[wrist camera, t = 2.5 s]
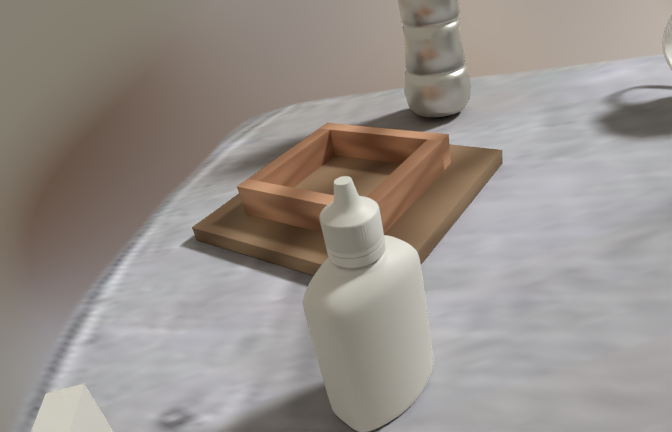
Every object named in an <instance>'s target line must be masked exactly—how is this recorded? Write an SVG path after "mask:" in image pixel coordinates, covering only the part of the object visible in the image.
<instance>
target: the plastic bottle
mask: <svg viewBox="0 0 672 432" xmlns="http://www.w3.org/2000/svg"><path fill="white" fill-rule="evenodd" d="M398 3H399V8H400V15H401V20H402V23H403V31H404V38H405V39H404V40H405V62H406V71H405V95H406V99H407V102H408V105H409V107H410V108H411V109H412V110H413V112H414V113H415V114H417V115H419V116H423V117H443V116H448V115H452V114H455V113H458V112H460V111H461V110H463V109H464V108H465V106H466V104H467V103H468V101H469V99H470V90H471V82H470V77H469V72H468V68H467V65H466V63H465V59H464V58H465V57H464V51H463V45H462V38H461V31H460V18H459V14H460V0H398Z"/></svg>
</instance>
